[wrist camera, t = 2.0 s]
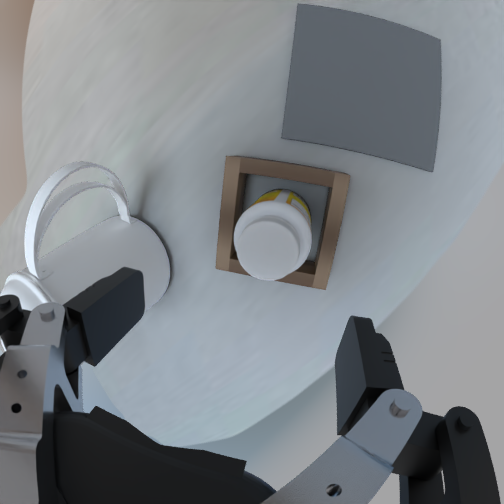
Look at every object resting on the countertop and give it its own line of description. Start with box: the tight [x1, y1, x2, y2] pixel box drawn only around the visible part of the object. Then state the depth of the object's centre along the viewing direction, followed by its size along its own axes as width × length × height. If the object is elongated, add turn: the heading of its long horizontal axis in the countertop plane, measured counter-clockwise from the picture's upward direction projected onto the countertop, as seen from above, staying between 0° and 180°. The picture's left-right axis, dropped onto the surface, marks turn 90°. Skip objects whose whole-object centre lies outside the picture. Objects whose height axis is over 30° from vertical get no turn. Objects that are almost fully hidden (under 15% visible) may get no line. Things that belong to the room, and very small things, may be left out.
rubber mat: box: [281, 4, 441, 172], centre depth 19 cm, size 14×14×1 cm
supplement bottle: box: [234, 189, 312, 281], centre depth 21 cm, size 5×5×10 cm
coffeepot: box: [0, 161, 170, 365], centre depth 22 cm, size 11×25×19 cm, turn 161°
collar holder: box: [216, 156, 350, 290], centre depth 24 cm, size 10×10×3 cm
